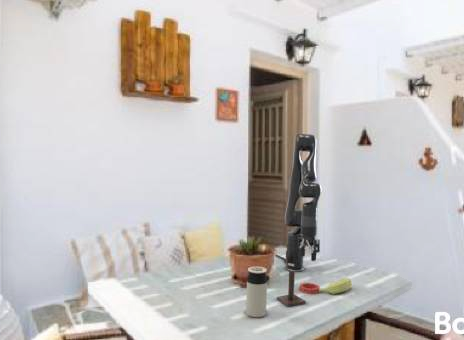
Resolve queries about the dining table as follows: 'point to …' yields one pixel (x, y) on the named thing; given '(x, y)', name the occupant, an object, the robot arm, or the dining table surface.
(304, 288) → the ring
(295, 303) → the peg stand
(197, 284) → the dining table surface
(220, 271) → the dining table surface
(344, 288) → the banana
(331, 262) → the dining table surface
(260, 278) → the travel mug
